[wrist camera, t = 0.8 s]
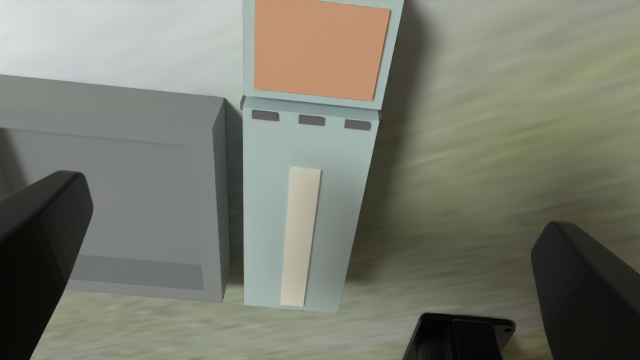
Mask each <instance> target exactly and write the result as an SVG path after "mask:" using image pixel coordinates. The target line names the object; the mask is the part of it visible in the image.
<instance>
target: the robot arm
mask: <svg viewBox="0 0 640 360" xmlns="http://www.w3.org/2000/svg"><path fill="white" fill-rule="evenodd" d="M92 215H93V201H92V198H91V194H90V190H89V187H88V183H87V180H86V177H85V175H84V174H83V173H82V172H79V171H71V170H58V171H55V172H53V173H51V174H50V175H48V176H46V177H44V178H42V179H40V180H38V181H36V182H34V183H32V184H30V185H29V186H27V187H25V188H23V189H21V190H19V191H17V192H15V193H13V194H11V195H10V196H8V197H6V198H4V199H2V200H0V360H30V358H31V356H32V354H33V352H34V350H35V348H36V346H37V344H38V342H39V340H40V338H41V336H42V334H43V332H44V330H45V328H46V326H47V324H48V322H49V320H50V318H51V316H52V314H53V312H54V310H55V308H56V306H57V304H58V302H59V300H60V298H61V296H62V294H63V292H64V290H65V288H66V286H67V283H68V281H69V278H70V276H71V273H72V270H73V268H74V265H75V262H76V259H77V257H78V254H79V251H80V248H81V246H82V243H83V240H84V237H85V235H86V232H87V229H88V226H89V224H90V221H91V218H92ZM531 262H532V267H533V272H534V278H535V283H536V288H537V294H538V299H539V304H540V310H541V315H542V320H543V325H544V329H545V333H546V336H547V340H548V343H549V347H550V350H551V353H552V356H553V360H640V274H639V273H638V272H636V271H635V270H634V269H633V268H631V267H630V266H629V265H627V264H626V263H625V262H623V261H622V260H621V259H620V258H618V257H617V256H616V255H614V254H613V253H612V252H610V251H609V250H608V249H607V248H605V247H604V246H603V245H601V244H600V243H599V242H598V241H596V240H595V239H594V238H592V237H591V236H590V235H588V234H587V233H586V232H585V231H583V230H582V229H581V228H579V227H578V226H577V225H575V224H574V223H571V222H564V221H551V222H549V223H548V224H547V225H546V227H545V228H544V230H543V232H542V233H541V235H540V237H539V238H538V240H537V242H536V243H535V245H534V247H533V249H532V253H531ZM515 330H516V329H515V326H514V323H513V322H511V321H503V320H491V319H480V318H468V317H456V316H445V315H433V314H425V315H422V316H421V317H420V318H419V321H418V323H417V325H416V328H415V330H414V333H413V335H412V338H411V340H410V342H409V345H408V347H407V350H406V352H405V354H404V357H403V359H402V360H504V359H503V356H502V353H501V351H502V350H503V348H504V347H505V345H506V344H507V342H508V341H509V339H510V338H511V336H512V335H513V333H514V332H515Z"/></svg>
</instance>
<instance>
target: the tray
mask: <svg viewBox="0 0 640 360" xmlns="http://www.w3.org/2000/svg"><path fill="white" fill-rule="evenodd" d="M58 170H71V171H79V172H82V173H83V174H84V175H85V177H86V180H87V183H88V187H89V190H90V194H91V198H92V201H93V215H92V218H91V221H90V224H89V226H88V229H87V232H86V235H85V237H84V240H83V243H82V246H81V248H80V251H79V254H78V257H77V259H76V262H75V265H74V268H73V270H72V273H71V276H70V278H69V281H68V283H67V286H66V288H65V290H76V291H88V292H100V293H112V294H123V295H135V296H147V297H159V298H171V299H182V300H194V301H206V302H218V303H222V302H223V298H224V294H225V289H226V285H227V281H228V277H229V272H230V268H231V267H230V240H229V213H228V185H227V158H226V131H225V103H224V98H221V97H211V96H202V95H192V94H182V93H173V92H163V91H153V90H144V89H134V88H124V87H115V86H105V85H95V84H86V83H76V82H66V81H57V80H47V79H37V78H28V77H18V76H8V75H0V200H2V199H4V198H6V197H8V196H10V195H11V194H13V193H15V192H17V191H19V190H21V189H23V188H25V187H27V186H29V185H30V184H32V183H34V182H36V181H38V180H40V179H42V178H44V177H46V176H48V175H50V174H51V173H53V172H55V171H58Z"/></svg>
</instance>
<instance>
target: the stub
mask: <svg viewBox="0 0 640 360" xmlns="http://www.w3.org/2000/svg"><path fill="white" fill-rule="evenodd" d="M403 4H404V0H243V95H245V96H254V97H264V98H273V99H283V100H292V101H302V102H311V103H321V104H331V105H340V106H350V107H359V108H369V109H378V110H381V107H382V102H383V97H384V93H385V88H386V83H387V79H388V74H389V69H390V65H391V60H392V55H393V51H394V46H395V41H396V37H397V32H398V27H399V22H400V18H401V13H402V8H403Z"/></svg>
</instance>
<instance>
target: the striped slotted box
mask: <svg viewBox="0 0 640 360" xmlns="http://www.w3.org/2000/svg"><path fill="white" fill-rule="evenodd" d="M240 109H241V110H243V206H244V305H251V306H263V307H275V308H287V309H298V310H310V311H322V312H334V313H338V311H339V306H340V301H341V297H342V292H343V287H344V283H345V278H346V274H347V269H348V264H349V260H350V255H351V250H352V246H353V241H354V236H355V232H356V227H357V222H358V218H359V213H360V209H361V204H362V199H363V195H364V190H365V185H366V181H367V176H368V171H369V167H370V162H371V157H372V153H373V148H374V143H375V139H376V134H377V130H378V125H379V124H381V120H382V113H381V110H378V109H369V108H359V107H350V106H340V105H331V104H321V103H311V102H302V101H292V100H283V99H273V98H264V97H254V96H245V95H243V96H242V99H241V102H240Z"/></svg>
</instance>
